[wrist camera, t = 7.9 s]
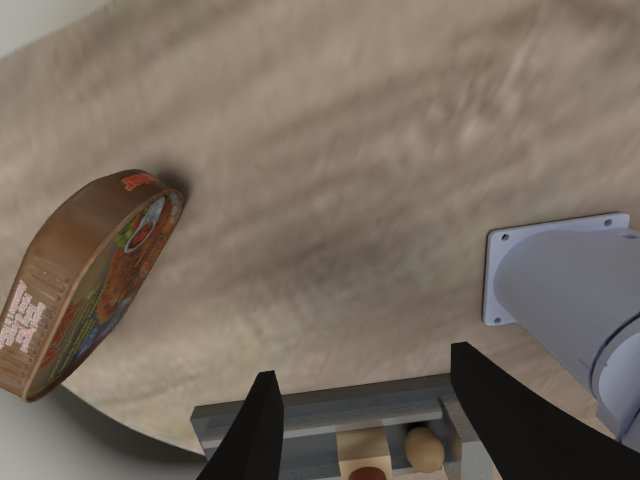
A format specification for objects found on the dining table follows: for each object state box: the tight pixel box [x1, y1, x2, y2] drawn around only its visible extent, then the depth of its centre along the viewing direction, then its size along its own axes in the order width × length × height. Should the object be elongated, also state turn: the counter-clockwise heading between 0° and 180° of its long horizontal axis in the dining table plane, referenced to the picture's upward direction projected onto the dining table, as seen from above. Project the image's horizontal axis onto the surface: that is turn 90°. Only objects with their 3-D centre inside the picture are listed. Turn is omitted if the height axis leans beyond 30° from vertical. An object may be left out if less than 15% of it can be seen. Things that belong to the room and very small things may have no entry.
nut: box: [404, 427, 444, 473], centre depth 25 cm, size 3×3×3 cm
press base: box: [190, 373, 493, 480], centre depth 26 cm, size 24×10×5 cm, turn 98°
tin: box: [0, 169, 184, 403], centre depth 17 cm, size 15×3×8 cm, turn 144°
